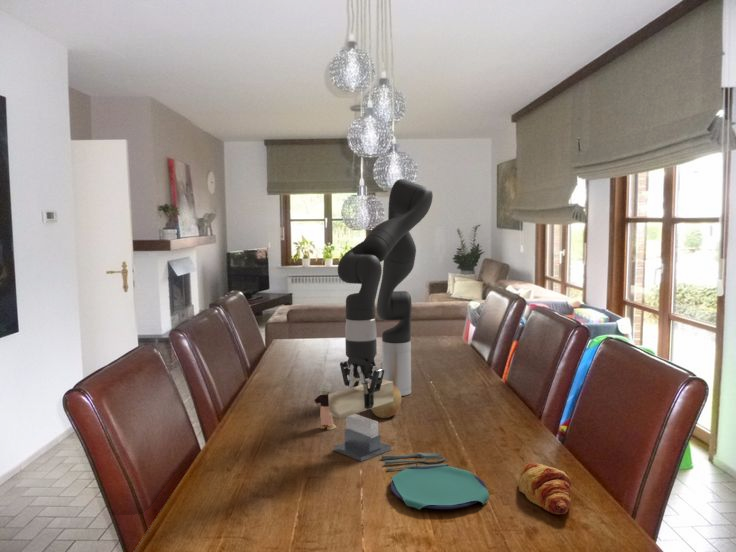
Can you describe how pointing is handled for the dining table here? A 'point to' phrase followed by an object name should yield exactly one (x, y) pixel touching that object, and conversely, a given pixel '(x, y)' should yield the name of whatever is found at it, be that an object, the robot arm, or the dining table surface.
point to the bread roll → (389, 406)
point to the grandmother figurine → (325, 407)
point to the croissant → (546, 487)
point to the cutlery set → (435, 484)
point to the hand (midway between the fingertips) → (362, 405)
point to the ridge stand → (361, 439)
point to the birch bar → (357, 399)
